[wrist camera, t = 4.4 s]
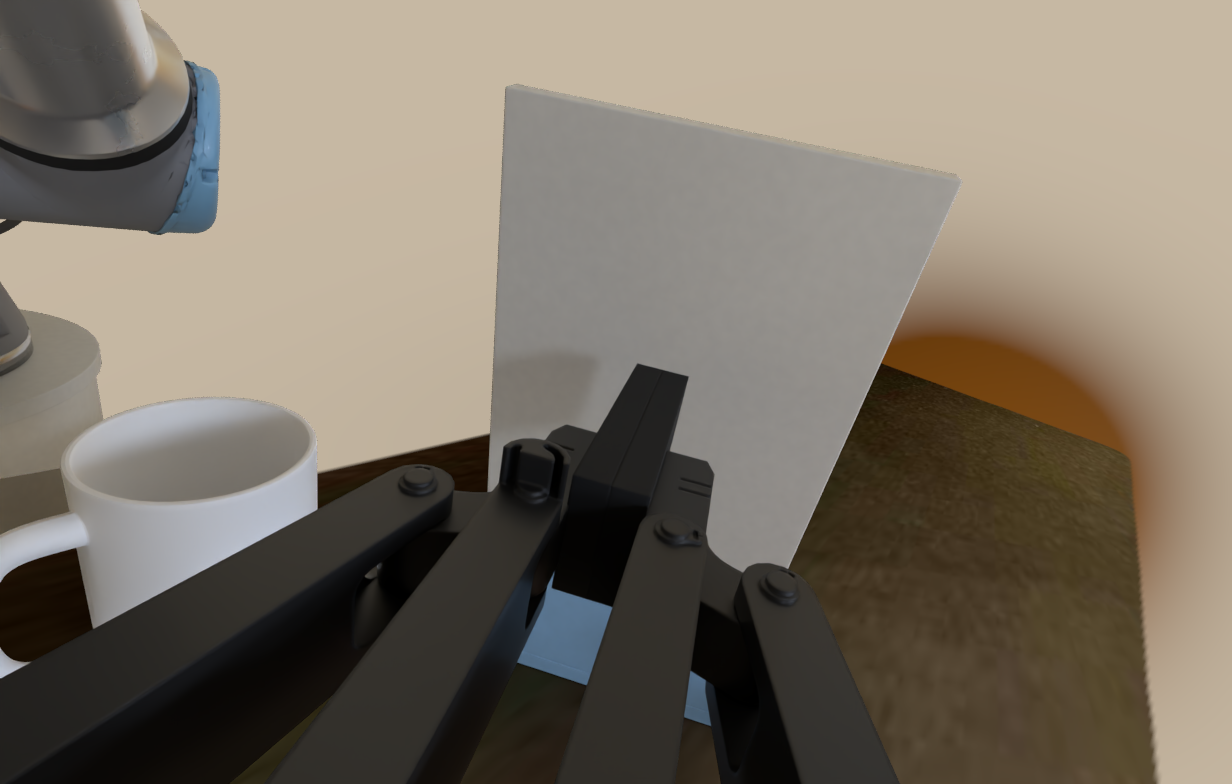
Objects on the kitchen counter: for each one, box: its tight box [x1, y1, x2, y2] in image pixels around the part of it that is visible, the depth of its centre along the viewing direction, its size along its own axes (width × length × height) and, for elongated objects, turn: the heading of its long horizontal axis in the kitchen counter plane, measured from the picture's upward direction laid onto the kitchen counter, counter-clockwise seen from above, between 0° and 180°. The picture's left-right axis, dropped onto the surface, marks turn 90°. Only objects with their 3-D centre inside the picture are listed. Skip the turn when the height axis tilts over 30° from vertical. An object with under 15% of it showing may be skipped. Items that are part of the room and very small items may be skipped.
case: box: [517, 574, 711, 726], centre depth 35 cm, size 16×13×8 cm
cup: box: [0, 397, 317, 678], centre depth 25 cm, size 8×12×10 cm
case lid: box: [488, 84, 962, 572], centre depth 22 cm, size 16×13×1 cm
